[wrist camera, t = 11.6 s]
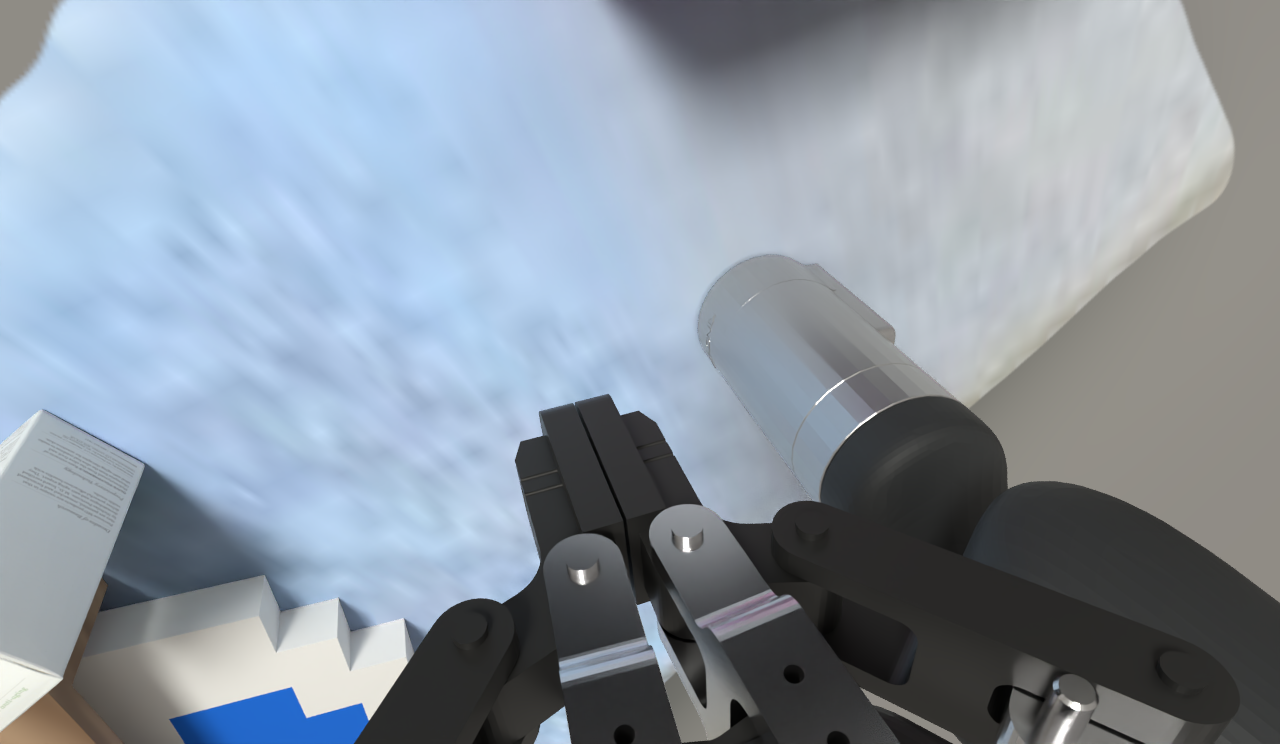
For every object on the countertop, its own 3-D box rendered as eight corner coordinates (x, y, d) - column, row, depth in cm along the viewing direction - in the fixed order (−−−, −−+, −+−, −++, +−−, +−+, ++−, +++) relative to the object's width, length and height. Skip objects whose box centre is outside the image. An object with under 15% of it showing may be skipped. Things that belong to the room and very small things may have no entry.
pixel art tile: (384, 586, 50) (447, 791, 66) (383, 544, 53) (443, 750, 69) (-106, 702, 43) (94, 901, 59) (-74, 646, 46) (108, 849, 62)
